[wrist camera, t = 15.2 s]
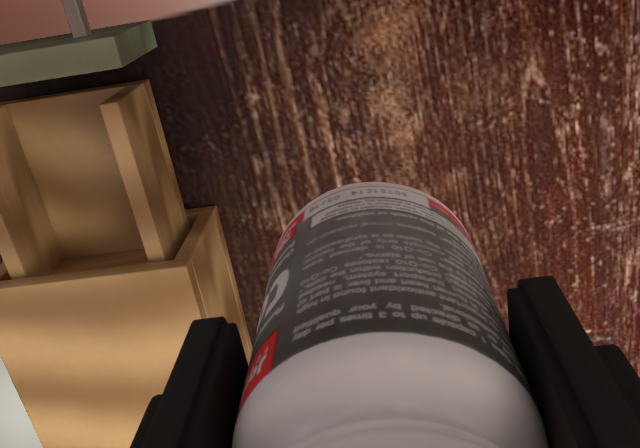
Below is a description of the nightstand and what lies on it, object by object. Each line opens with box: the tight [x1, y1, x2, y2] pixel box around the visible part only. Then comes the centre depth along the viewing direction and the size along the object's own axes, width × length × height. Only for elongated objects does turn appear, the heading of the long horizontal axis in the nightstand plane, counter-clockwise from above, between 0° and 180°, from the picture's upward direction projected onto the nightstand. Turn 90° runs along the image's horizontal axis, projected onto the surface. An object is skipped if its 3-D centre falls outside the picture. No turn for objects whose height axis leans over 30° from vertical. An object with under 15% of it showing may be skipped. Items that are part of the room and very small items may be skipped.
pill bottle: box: [232, 182, 549, 448], centre depth 11 cm, size 5×5×8 cm
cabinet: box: [0, 206, 253, 448], centre depth 33 cm, size 13×10×7 cm
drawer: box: [0, 0, 190, 280], centre depth 27 cm, size 16×9×5 cm, turn 9°
